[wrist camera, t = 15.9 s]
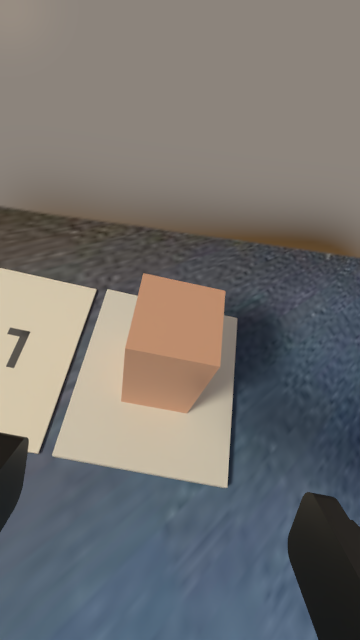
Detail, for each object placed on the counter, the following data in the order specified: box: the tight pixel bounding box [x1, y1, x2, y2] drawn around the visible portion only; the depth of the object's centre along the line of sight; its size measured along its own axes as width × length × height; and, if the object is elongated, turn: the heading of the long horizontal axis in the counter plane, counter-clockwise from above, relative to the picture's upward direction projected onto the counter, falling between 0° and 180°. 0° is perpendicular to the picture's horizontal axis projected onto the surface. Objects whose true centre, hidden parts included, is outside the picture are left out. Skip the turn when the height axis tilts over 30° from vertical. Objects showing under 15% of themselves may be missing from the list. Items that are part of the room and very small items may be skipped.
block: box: [121, 273, 225, 413], centre depth 22 cm, size 5×5×9 cm
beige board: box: [52, 289, 237, 488], centre depth 26 cm, size 12×14×1 cm
